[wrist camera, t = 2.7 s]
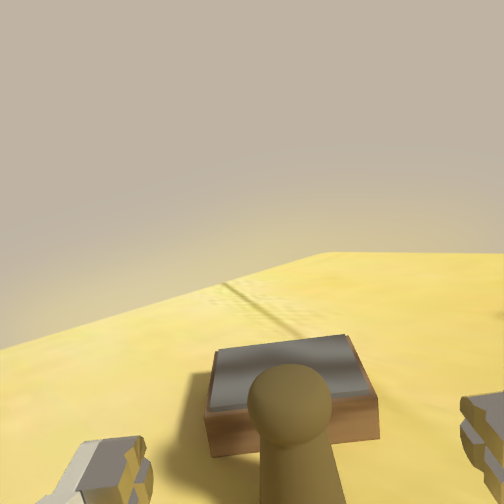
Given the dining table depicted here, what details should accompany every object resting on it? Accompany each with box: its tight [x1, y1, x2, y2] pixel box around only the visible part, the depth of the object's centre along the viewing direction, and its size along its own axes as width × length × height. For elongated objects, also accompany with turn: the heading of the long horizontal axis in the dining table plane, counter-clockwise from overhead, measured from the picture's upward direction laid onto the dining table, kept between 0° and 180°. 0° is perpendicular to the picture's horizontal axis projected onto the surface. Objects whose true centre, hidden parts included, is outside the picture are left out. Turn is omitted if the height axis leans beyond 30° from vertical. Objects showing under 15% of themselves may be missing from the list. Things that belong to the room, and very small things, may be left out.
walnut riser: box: [204, 334, 380, 457], centre depth 37 cm, size 10×14×4 cm
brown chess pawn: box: [247, 364, 346, 504], centre depth 25 cm, size 6×6×11 cm
